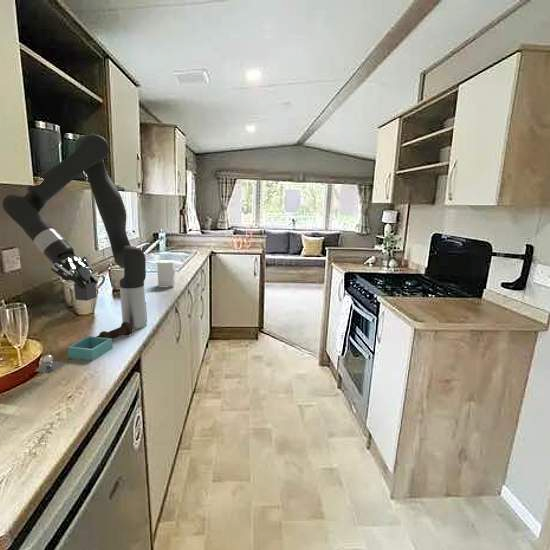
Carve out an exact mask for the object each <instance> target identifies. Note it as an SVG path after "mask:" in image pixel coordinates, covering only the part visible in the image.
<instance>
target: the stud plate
mask: <svg viewBox="0 0 550 550" xmlns="http://www.w3.org/2000/svg"><path fill="white" fill-rule="evenodd" d="M66 364H68V362H63V361H56V360H55V361H54V357H53V356H52V355H51V354H45V356H44V357H43V358H42V363H41V364H39V365H40V366H39V365H38V366H39V367H38V368H37V369H36V370H35V371H34V372H38V373H45V374H51V373H52V372H54V371H56V370H58V369H59V368H61V367H63V366H65V365H66Z"/></svg>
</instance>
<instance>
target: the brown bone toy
mask: <svg viewBox="0 0 550 550" xmlns="http://www.w3.org/2000/svg"><path fill="white" fill-rule="evenodd" d="M133 332H134V330H133V328H132V326H131V324H130V323H128V322H121V324H120V327H116V328H114V329H111V330H110V331H104V330H103V331H101V332H99V334H98V335H96V336H95V337H101V338H111V339H112V340H114V339H118V338H119V337H122V336H127V335H130V334H131V335H132V334H133ZM131 335H130V336H131Z"/></svg>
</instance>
